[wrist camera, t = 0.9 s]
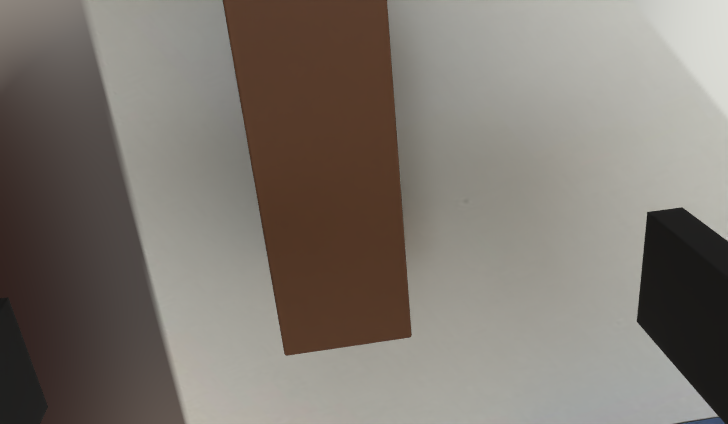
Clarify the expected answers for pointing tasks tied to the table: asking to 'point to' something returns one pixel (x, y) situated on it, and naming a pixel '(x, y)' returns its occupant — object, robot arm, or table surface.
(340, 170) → the two-tone wooden bracket
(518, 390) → the table surface
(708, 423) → the bin
